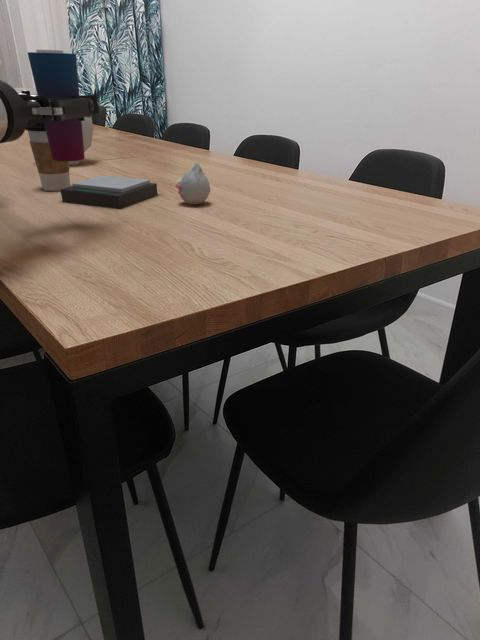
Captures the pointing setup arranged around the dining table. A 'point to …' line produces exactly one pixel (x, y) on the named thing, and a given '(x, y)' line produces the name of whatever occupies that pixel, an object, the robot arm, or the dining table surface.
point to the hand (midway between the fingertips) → (76, 103)
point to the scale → (109, 191)
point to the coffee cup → (47, 160)
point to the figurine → (194, 186)
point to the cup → (59, 82)
